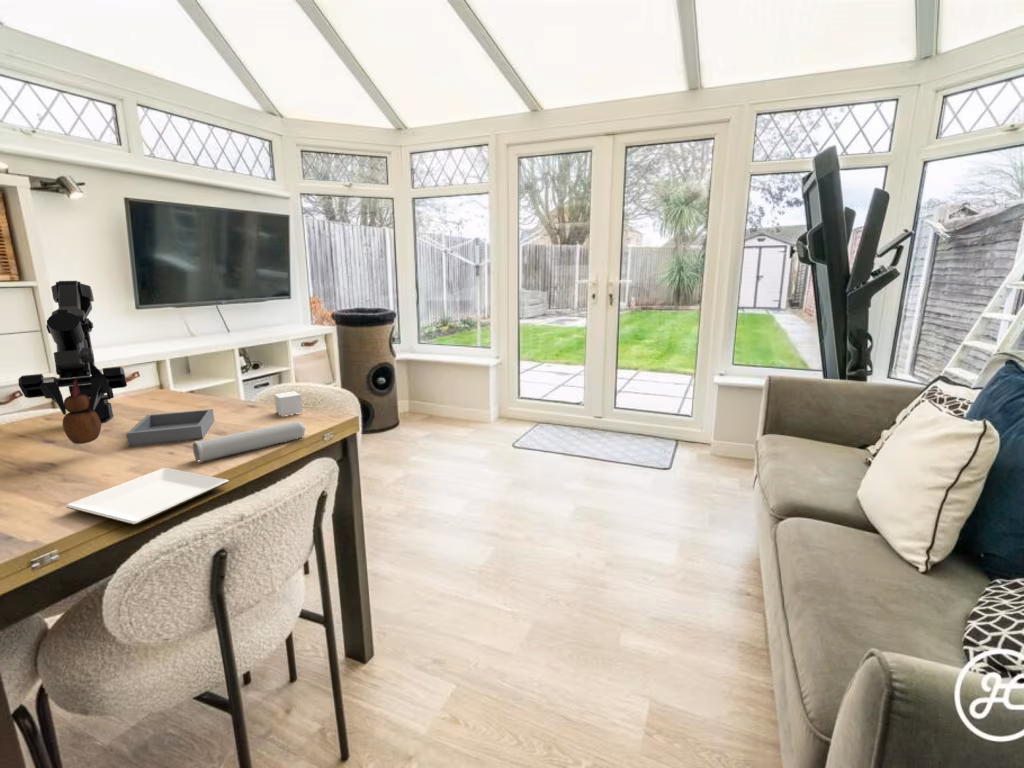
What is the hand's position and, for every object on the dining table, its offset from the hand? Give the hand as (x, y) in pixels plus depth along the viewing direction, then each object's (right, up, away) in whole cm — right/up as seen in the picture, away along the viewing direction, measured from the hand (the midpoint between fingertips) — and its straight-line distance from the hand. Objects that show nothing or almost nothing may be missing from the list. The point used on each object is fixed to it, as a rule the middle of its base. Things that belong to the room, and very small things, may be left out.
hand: (78, 411), depth 115 cm
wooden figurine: (-1, -7, +3) cm, 8 cm away
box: (+9, -7, +20) cm, 23 cm away
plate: (+31, -16, -19) cm, 40 cm away
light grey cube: (+32, -3, +38) cm, 50 cm away
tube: (+36, -10, +9) cm, 39 cm away
